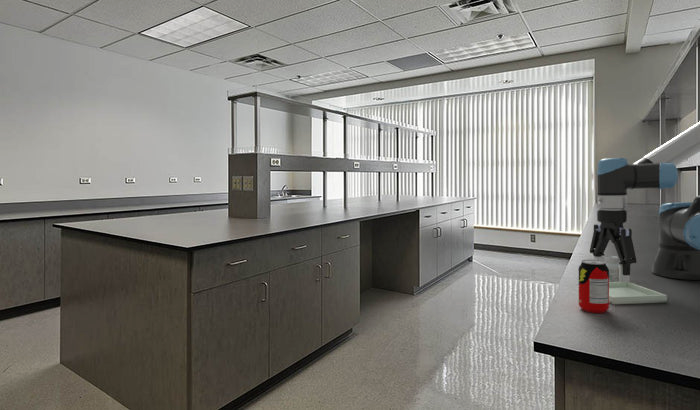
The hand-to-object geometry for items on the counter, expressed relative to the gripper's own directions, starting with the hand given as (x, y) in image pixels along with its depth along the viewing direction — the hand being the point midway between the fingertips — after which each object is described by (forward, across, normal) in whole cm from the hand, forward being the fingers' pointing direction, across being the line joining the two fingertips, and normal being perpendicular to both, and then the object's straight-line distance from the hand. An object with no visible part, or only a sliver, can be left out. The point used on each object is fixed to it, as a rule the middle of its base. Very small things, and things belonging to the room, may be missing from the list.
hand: (611, 281), depth 122 cm
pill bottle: (0, 0, 0) cm, 0 cm away
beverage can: (0, +25, -21) cm, 32 cm away
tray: (0, +14, -7) cm, 16 cm away
